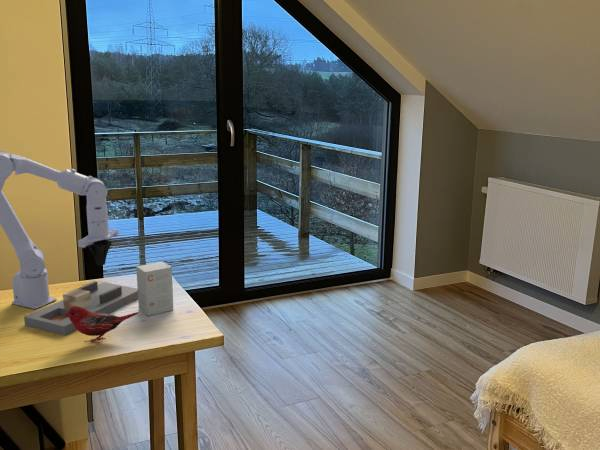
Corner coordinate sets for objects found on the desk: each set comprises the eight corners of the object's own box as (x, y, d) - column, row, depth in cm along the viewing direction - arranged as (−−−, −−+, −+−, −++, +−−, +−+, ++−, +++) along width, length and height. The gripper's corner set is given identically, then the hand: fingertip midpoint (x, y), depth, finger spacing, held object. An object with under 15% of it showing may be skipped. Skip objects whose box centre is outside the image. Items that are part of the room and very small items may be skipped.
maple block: (63, 308, 160) (62, 294, 159) (77, 301, 164) (76, 288, 163) (77, 311, 158) (76, 297, 157) (91, 304, 162) (90, 291, 161)
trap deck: (24, 325, 154) (23, 307, 153) (104, 289, 181) (103, 274, 180) (65, 335, 149) (63, 317, 148) (141, 297, 175) (140, 281, 174)
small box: (164, 303, 171) (162, 260, 168) (174, 310, 166) (172, 266, 163) (137, 309, 166) (135, 265, 163) (146, 316, 161) (144, 272, 158)
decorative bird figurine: (66, 343, 144) (63, 305, 142) (139, 332, 151) (137, 296, 149) (66, 348, 142) (63, 309, 139) (141, 336, 149) (139, 300, 146)
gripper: (90, 227, 163) (93, 273, 167) (125, 217, 176) (127, 260, 179) (71, 224, 166) (74, 270, 169) (107, 214, 179) (109, 256, 182)
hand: (100, 264), depth 175 cm, fingers closed
